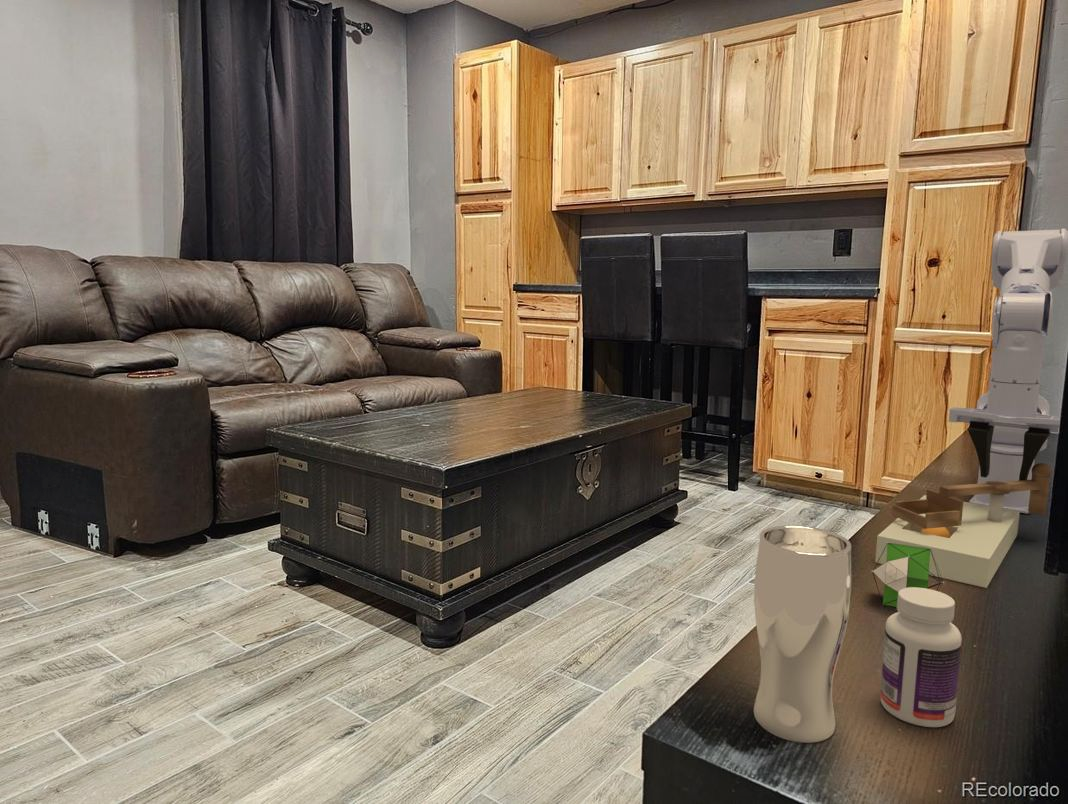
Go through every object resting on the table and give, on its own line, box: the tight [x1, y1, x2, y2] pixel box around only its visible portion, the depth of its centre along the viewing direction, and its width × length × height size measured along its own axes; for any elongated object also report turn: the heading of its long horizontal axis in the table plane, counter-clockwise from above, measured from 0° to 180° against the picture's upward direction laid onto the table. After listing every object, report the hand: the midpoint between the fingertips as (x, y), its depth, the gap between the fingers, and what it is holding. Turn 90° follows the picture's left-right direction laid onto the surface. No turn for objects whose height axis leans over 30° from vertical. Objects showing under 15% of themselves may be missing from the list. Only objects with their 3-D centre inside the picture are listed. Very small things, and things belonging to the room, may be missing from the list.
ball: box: [920, 527, 951, 538], centre depth 93 cm, size 4×4×4 cm
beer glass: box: [753, 525, 852, 744], centre depth 56 cm, size 7×7×15 cm
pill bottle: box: [880, 587, 963, 728], centre depth 57 cm, size 5×5×10 cm
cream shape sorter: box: [875, 493, 1020, 589], centre depth 94 cm, size 24×12×7 cm, turn 139°
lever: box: [891, 462, 1052, 529], centre depth 94 cm, size 22×6×7 cm, turn 104°
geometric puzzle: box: [870, 542, 945, 608], centre depth 77 cm, size 7×7×8 cm
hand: (1003, 478), depth 99 cm, fingers open, 4 cm apart
